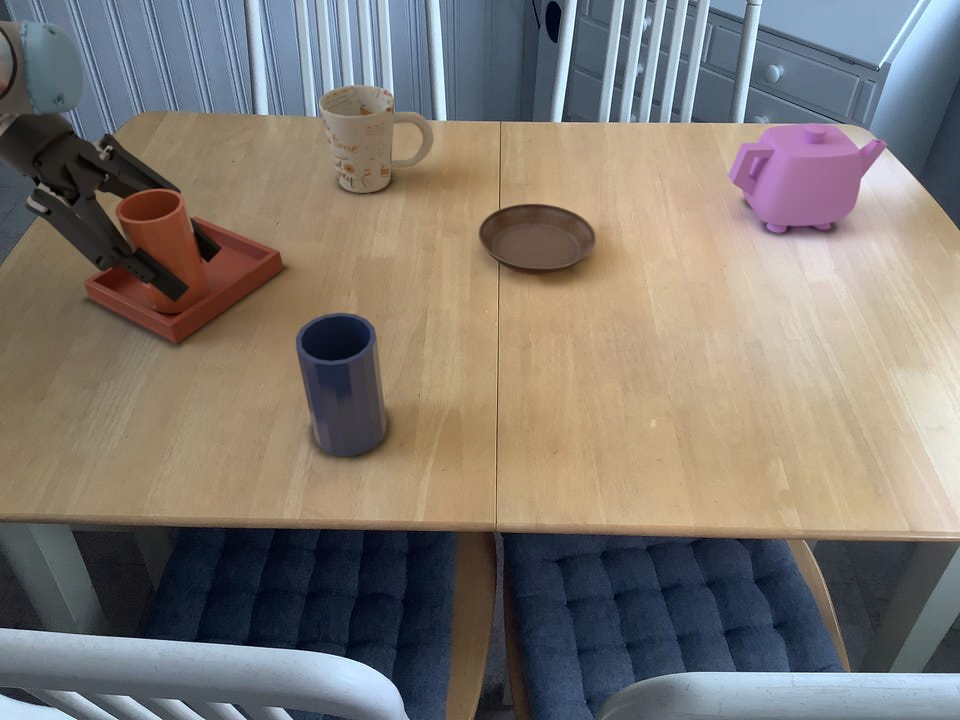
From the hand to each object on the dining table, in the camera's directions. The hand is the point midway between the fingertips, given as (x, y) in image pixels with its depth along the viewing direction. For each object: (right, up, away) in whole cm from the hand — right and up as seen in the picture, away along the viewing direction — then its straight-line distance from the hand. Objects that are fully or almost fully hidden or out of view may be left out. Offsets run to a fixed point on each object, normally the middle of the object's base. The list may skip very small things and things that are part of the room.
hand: (199, 274), depth 88 cm
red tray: (-3, 0, +6) cm, 7 cm away
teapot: (+75, +10, +19) cm, 78 cm away
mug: (+18, +17, +25) cm, 35 cm away
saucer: (+39, +4, +12) cm, 41 cm away
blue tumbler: (+19, -17, -11) cm, 28 cm away
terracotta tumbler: (-3, -2, +3) cm, 5 cm away
